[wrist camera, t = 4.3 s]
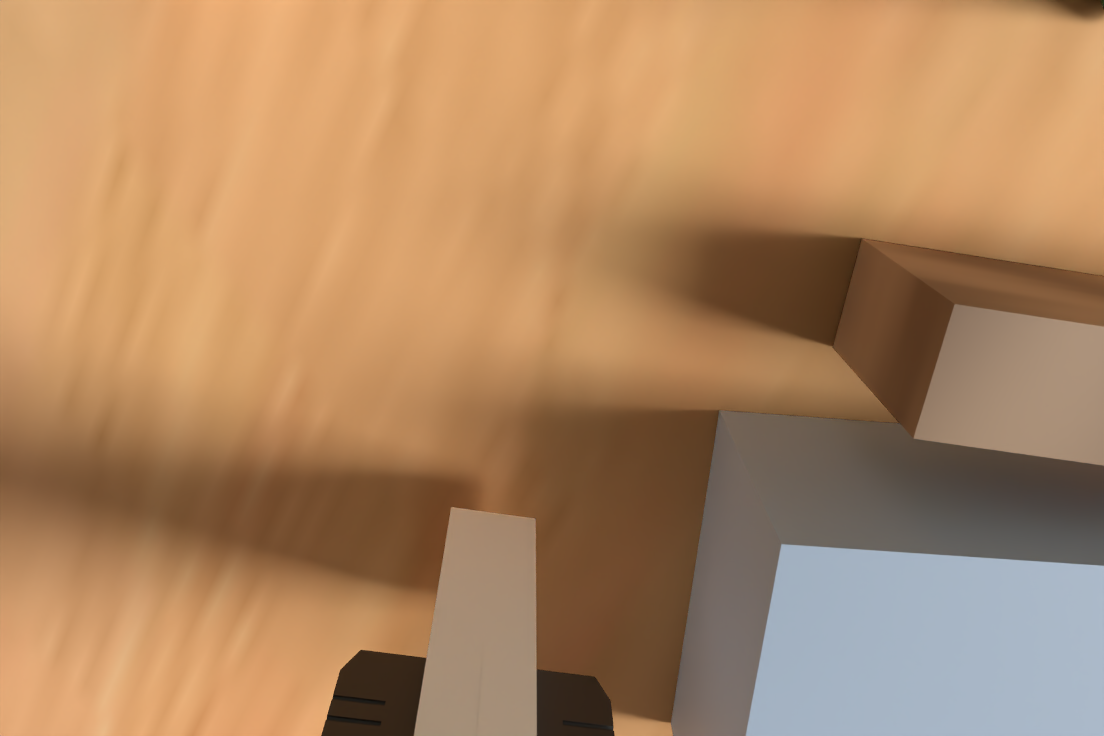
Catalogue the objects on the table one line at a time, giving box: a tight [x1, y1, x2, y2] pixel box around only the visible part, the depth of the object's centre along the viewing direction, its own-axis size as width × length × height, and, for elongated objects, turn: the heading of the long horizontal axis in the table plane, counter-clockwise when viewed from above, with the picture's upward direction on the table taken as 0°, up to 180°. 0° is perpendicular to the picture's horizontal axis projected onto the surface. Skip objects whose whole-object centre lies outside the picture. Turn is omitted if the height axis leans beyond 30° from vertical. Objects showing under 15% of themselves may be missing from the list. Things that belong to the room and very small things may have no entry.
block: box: [671, 410, 1104, 736], centre depth 18 cm, size 7×7×5 cm
